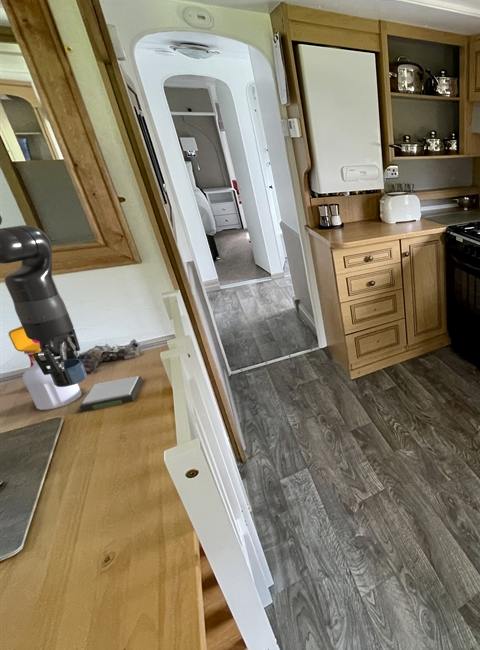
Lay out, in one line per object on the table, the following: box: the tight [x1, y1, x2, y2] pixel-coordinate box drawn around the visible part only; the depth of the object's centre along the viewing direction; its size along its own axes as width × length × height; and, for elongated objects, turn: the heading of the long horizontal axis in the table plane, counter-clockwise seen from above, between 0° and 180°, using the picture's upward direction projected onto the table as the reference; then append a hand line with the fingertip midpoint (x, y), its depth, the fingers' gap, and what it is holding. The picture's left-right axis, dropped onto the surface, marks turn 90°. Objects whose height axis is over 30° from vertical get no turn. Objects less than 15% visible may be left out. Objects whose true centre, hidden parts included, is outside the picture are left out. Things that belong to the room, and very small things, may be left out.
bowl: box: [50, 359, 88, 387], centre depth 91 cm, size 6×6×4 cm
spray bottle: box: [8, 325, 82, 411], centre depth 102 cm, size 9×9×25 cm
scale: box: [79, 375, 144, 412], centre depth 109 cm, size 11×11×3 cm
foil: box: [77, 338, 141, 374], centre depth 125 cm, size 12×11×15 cm
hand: (70, 377), depth 92 cm, fingers closed on bowl, 6 cm apart
